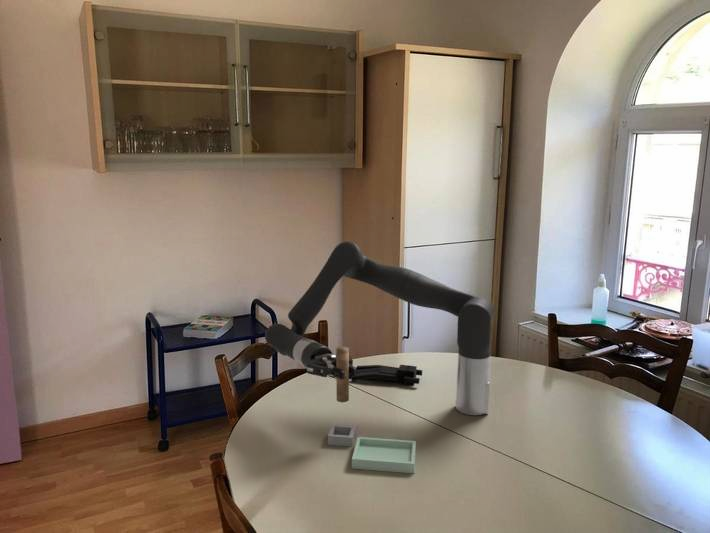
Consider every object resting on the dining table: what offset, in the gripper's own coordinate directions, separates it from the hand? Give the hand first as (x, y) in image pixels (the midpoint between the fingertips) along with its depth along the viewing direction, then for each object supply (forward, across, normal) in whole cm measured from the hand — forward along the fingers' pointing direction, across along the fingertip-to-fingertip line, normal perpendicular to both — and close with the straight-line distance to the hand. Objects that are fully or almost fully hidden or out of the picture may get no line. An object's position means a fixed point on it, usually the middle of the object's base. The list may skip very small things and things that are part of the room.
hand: (349, 374), depth 151 cm
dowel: (-3, 0, +8) cm, 8 cm away
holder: (-3, 0, +19) cm, 20 cm away
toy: (-30, +33, +20) cm, 49 cm away
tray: (+11, +3, +20) cm, 23 cm away
